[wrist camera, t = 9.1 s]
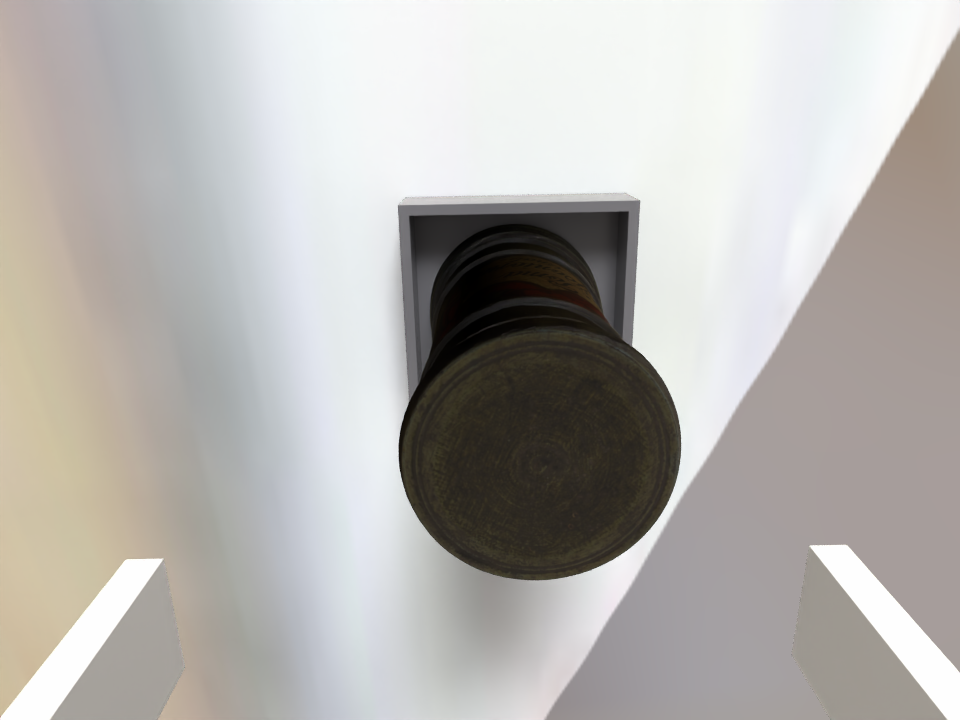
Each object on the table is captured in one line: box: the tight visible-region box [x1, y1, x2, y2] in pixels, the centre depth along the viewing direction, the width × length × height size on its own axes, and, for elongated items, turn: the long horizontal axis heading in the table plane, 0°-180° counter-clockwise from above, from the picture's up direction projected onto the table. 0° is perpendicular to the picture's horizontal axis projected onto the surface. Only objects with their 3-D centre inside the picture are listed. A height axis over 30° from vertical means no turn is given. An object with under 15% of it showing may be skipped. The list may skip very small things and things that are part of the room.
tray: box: [398, 193, 640, 401], centre depth 36 cm, size 12×12×4 cm
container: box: [399, 224, 681, 580], centre depth 28 cm, size 9×9×18 cm
